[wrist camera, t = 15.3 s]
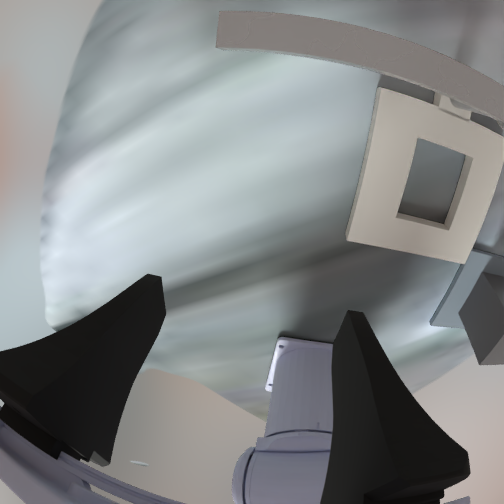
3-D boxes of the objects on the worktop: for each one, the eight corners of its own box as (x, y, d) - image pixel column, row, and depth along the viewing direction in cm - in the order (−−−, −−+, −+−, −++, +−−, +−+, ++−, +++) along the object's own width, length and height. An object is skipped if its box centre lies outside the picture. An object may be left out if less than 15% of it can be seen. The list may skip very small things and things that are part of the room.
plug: (483, 316, 20) (505, 364, 15) (458, 313, 21) (479, 365, 16) (506, 277, 18) (536, 324, 13) (481, 271, 18) (512, 322, 13)
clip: (524, 100, 7) (536, 103, 6) (517, 137, 8) (529, 143, 7) (227, 11, 8) (220, 5, 7) (222, 56, 9) (215, 53, 8)
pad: (486, 326, 22) (488, 330, 21) (429, 321, 22) (430, 325, 22) (524, 262, 17) (527, 266, 17) (469, 247, 18) (471, 250, 17)
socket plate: (459, 257, 18) (491, 308, 13) (345, 233, 19) (356, 289, 14) (506, 108, 12) (562, 127, 7) (381, 54, 13) (418, 42, 8)
